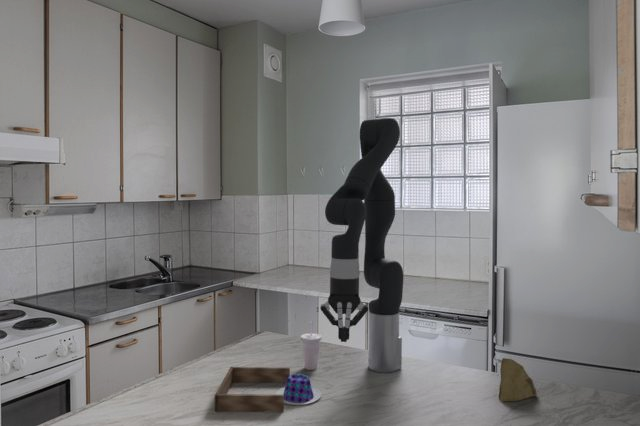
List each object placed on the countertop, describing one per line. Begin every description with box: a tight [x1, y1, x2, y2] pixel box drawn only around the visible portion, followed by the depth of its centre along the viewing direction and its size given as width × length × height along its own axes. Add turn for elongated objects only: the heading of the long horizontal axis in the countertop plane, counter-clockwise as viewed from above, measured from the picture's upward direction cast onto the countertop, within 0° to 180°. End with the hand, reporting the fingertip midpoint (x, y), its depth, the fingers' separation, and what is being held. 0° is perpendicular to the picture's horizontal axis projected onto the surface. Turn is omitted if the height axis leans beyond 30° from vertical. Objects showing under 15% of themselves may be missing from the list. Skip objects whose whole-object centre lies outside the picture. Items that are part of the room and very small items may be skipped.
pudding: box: [275, 373, 322, 405], centre depth 125 cm, size 12×12×5 cm
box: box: [214, 366, 291, 413], centre depth 125 cm, size 17×19×4 cm
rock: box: [498, 357, 538, 403], centre depth 124 cm, size 11×9×10 cm
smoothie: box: [300, 321, 322, 371], centre depth 145 cm, size 6×6×14 cm
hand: (343, 340), depth 124 cm, fingers closed
